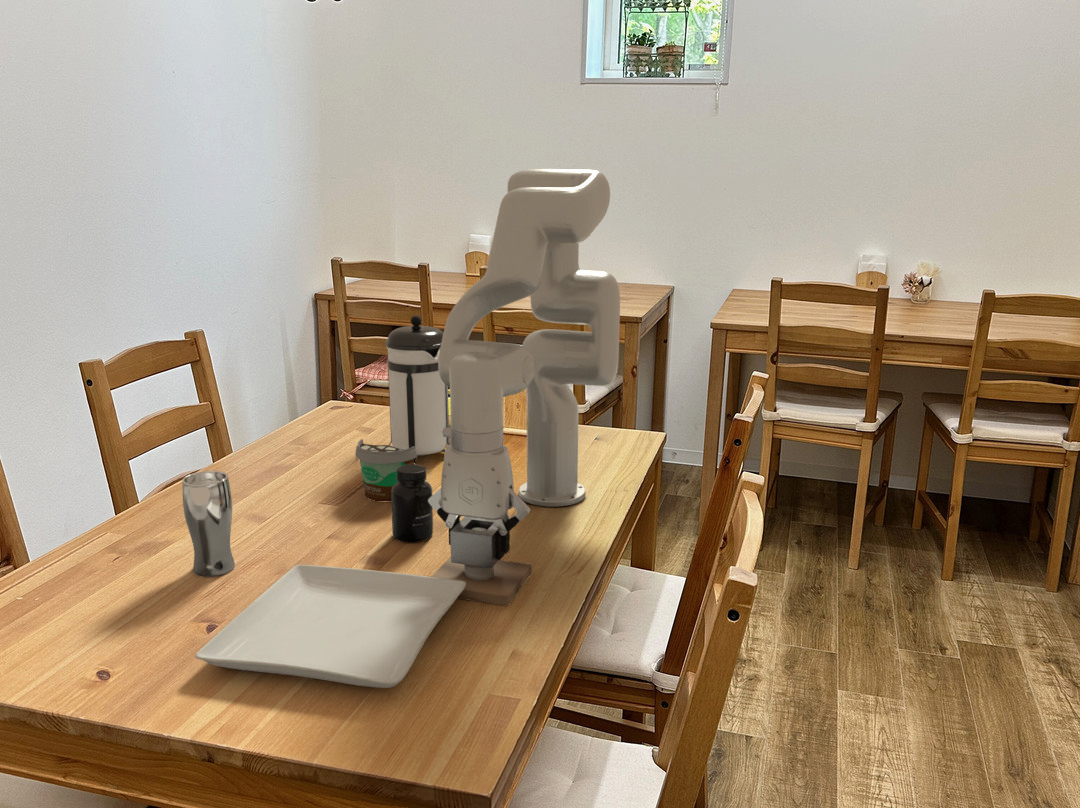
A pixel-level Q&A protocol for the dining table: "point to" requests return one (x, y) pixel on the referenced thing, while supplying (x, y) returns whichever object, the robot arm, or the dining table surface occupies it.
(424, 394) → the coffee press
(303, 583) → the square plate
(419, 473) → the supplement bottle
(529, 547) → the dining table surface
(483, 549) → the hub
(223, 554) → the beer glass
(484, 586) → the shaft block
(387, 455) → the food container
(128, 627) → the dining table surface
